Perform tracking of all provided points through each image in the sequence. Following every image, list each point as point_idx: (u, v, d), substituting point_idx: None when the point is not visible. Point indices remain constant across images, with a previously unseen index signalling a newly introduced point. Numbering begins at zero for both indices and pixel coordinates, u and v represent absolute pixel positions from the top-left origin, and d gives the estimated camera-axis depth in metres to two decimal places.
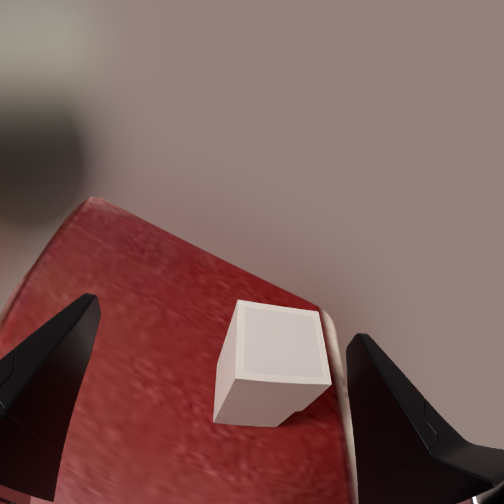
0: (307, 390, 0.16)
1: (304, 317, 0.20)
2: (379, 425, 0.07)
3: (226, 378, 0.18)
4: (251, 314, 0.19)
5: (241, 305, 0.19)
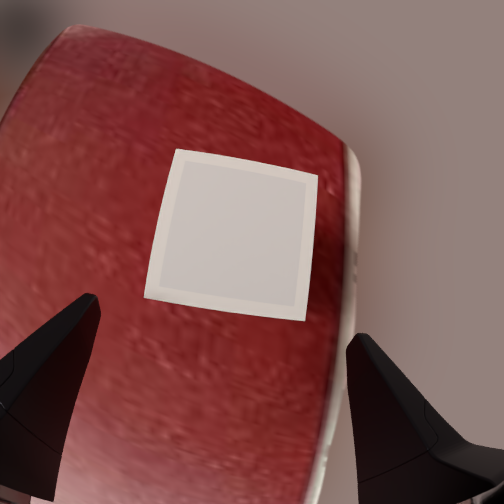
0: None
1: (289, 184, 0.11)
2: (379, 425, 0.07)
3: None
4: (192, 175, 0.11)
5: (179, 159, 0.11)
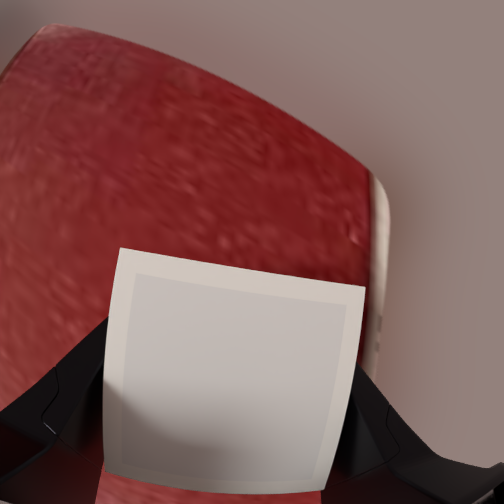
0: None
1: (319, 311, 0.07)
2: None
3: None
4: (150, 304, 0.06)
5: (126, 269, 0.06)
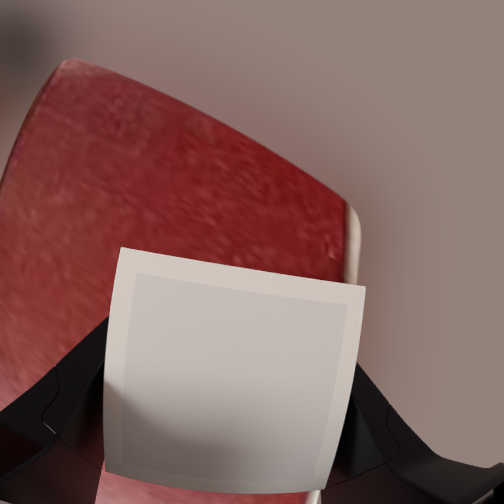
0: None
1: (320, 311, 0.07)
2: None
3: None
4: (151, 303, 0.06)
5: (127, 268, 0.06)
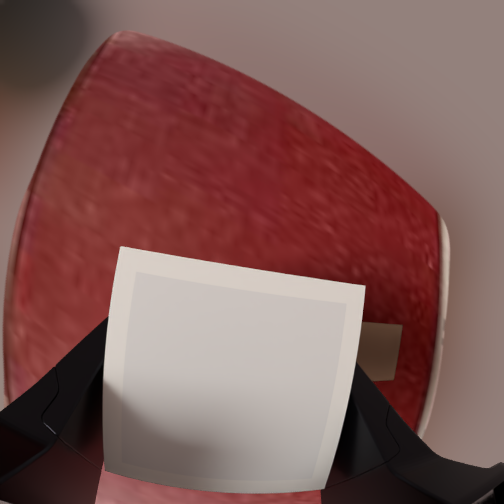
0: None
1: (319, 310, 0.07)
2: None
3: None
4: (150, 302, 0.06)
5: (126, 267, 0.06)
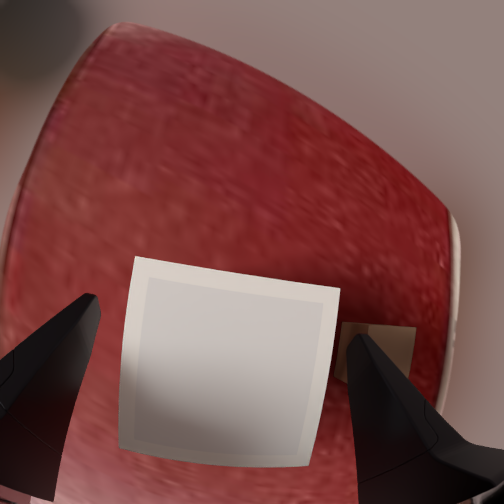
0: None
1: (300, 308, 0.08)
2: (379, 425, 0.07)
3: None
4: (161, 302, 0.07)
5: (140, 274, 0.07)
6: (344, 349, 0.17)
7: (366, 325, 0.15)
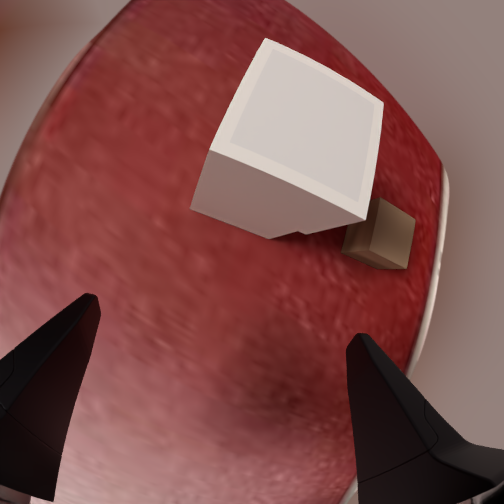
0: (325, 211, 0.10)
1: (361, 99, 0.10)
2: (379, 425, 0.07)
3: None
4: (278, 61, 0.09)
5: (267, 46, 0.09)
6: (354, 226, 0.20)
7: (377, 198, 0.18)
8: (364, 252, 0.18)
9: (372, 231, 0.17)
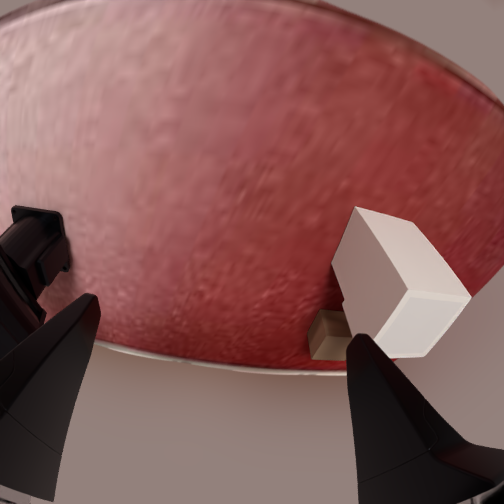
0: None
1: (426, 346, 0.16)
2: (379, 425, 0.07)
3: (404, 257, 0.16)
4: (454, 307, 0.14)
5: (465, 299, 0.14)
6: (339, 317, 0.27)
7: None
8: (323, 330, 0.25)
9: (338, 335, 0.25)
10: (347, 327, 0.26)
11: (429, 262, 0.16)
